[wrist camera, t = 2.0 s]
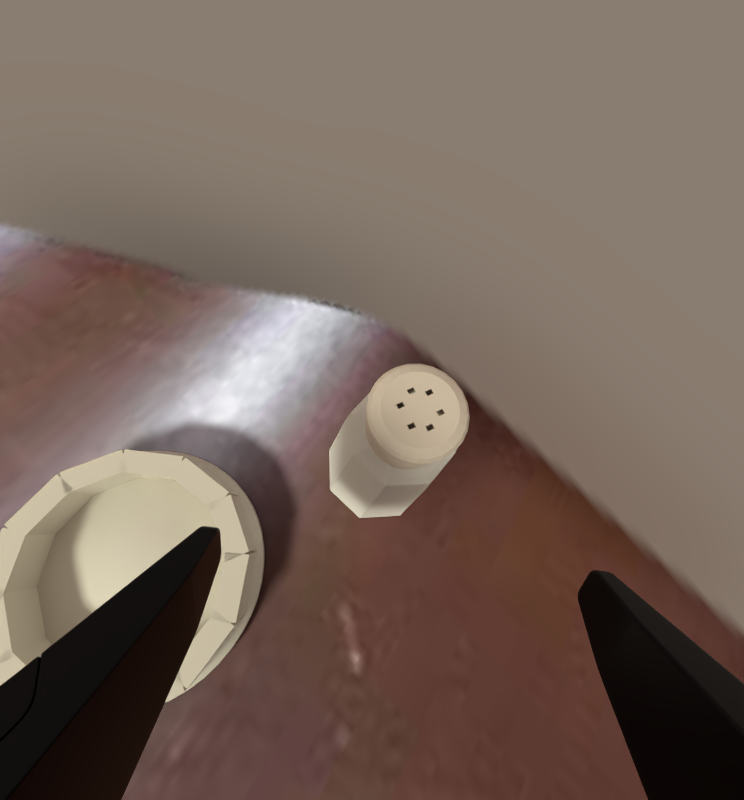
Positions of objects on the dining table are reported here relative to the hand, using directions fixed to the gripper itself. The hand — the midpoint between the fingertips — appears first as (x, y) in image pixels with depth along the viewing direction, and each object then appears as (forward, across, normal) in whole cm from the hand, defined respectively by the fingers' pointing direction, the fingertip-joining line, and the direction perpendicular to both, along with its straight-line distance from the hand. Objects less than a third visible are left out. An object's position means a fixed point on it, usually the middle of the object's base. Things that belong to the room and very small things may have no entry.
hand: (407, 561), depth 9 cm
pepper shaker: (+10, 0, +5) cm, 11 cm away
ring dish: (+6, +10, +9) cm, 15 cm away
